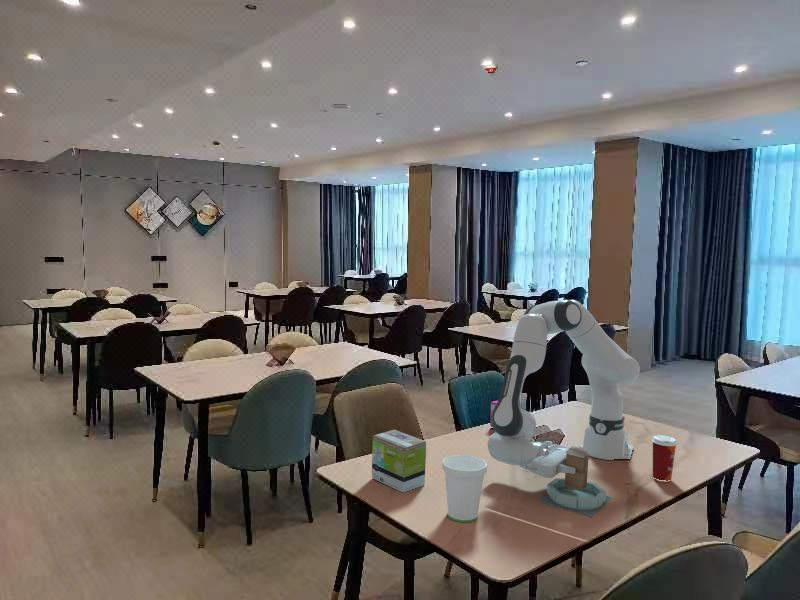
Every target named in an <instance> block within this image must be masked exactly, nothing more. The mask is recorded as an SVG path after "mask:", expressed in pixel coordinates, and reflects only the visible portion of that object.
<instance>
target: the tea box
mask: <svg viewBox="0 0 800 600" xmlns="http://www.w3.org/2000/svg"><path fill="white" fill-rule="evenodd" d="M371 449H372V451H371V453H372V454H371V455H372V456H371V479H372V480H375V481H378V482H380V483H381V484H384V485H386V486H388V487H390V488H392V489H394V490H396V491H398V492H400V493H402V492H403V493H402V494H404V492H405V493H407V491H408V492H410V491H413V490H416V489H418V488H420V487H423V486H425V484H426V461H427V460H426V459H427V441H426V440H423V439H421V438H418V437H417V436H416V437H415V436H412V435H410V434H407V433H405V432H402V431H400V430H398V429H391V430H388V431H385V432H381V433H377V434H373V435H372V448H371ZM415 488H416V489H415ZM412 489H413V490H412ZM409 490H410V491H409Z"/></svg>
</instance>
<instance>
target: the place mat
mask: <svg viewBox="0 0 800 600" xmlns="http://www.w3.org/2000/svg"><path fill="white" fill-rule="evenodd" d="M612 498H613V497H612V496H609V495H606V500H605V501H604V502H603V503H602V506H601V507H600V508H598V509H595V510H574V509H569V508H566V507H563V506H560V505H558V504H556V503H555V502H553V501H552V500H551V499H550V495H549V494H548V493H547V494H546V495H545V496H544V497H542V498H541V499H540V500H539V501H538V503H541V504H545V505H548V506H551V507H555V508H558V509H561V510H564V511H568V512H571V513H575V514H579V515H581V516H584V517H588V518H593V517H594V516H595V515H596V514H597V513H598V512H600V510H601V509H602V508H603V507H604V506H605V505H606V504H607V503H608V502H609V501H610V500H611V499H612Z"/></svg>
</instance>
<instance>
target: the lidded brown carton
mask: <svg viewBox="0 0 800 600" xmlns="http://www.w3.org/2000/svg"><path fill="white" fill-rule="evenodd" d="M568 448H569V449H568V450H566V466H573V467H576V468H577V472H576V473H575V474H571V473H564V478H565V485H564V487H567V488H570V489H574V490H577V491H582V490H583V489H584V488H585V487H587V481H588V475H589V474H588V472H589V458H590V455H589V451H590V450H587V449H582V448H579V446H574V445H572V446H571V447H568Z"/></svg>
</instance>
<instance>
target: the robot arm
mask: <svg viewBox="0 0 800 600" xmlns="http://www.w3.org/2000/svg"><path fill="white" fill-rule="evenodd" d="M562 332H565V333H566V335H567V336H568V337H569V338H570V340H571V341H572V343H573V344H574V346H576V348H577V349H578V350H579V351H580V353H581V354H582V356H581V366H582V367H583V369H584V371H585V372H586V374H587V378H588V382H589V386H590V393H591V407H590V414H589V417H588V418H589V419H588V421H589V422H588V423H589V425H588V426H586V427H585V428H584V433H583V434H584V435H583V443H581V444H580V445H579V446H578V448H582V449H587V450H590V451H589V457H592V458H596V459H600V460H606V461H615V460H614V459H629V458H631V459H632V456H631V454H632V455H633V452H632V450H633V451H634V446H633V445H632V444H629V443H628V442H629V441H628V437H629V435H628V433H627V432H626V429H625V428H624V427H625V426H624V425H625V418H626V417H625V415H624V414H623V410H624V396H623V394H622V393H621V391H620V389H619V386H618V384H619V385H630V384H633V383H635V382H636V381H637V380H638V379H639V376H640V372H641V367H640V364H639V362H638V361H637V360H636V359H635V358H633V357H632V356H630V355H629V354H628V353H627V352H626V351H625V350H624V349H622V348H621V346H620V345H618V344H617V343H616V342H615V341H614V340H613V339H612V338H611V337H610V336H609V335H608V334H607V333H606V331H604V329H603V328H602V326H601V325H600V324H599V322H598V321H597V320H596V319H595V317H594V316H593V315H592V313H591V312H590V311H589V310H588V309H587V308H586V307H585V306H584V304H582V303H581V302H580V301H578V300H577V299H561V300H552V301H547V302H544V303H540V304H534V305H532V306H530V307H528V308H527V309H526V310H525V312H524V314H523V315H521V316H520V318H519V320H518V322H517V325H516V329H515V331H514V336H513V340H512V346H511V353H510V357H509V359H508V363H507V366H506V368H505V373H504V376H503V381H502V383H501V384H502V385H501V389H500V393H499V397H498V402H497V404H496V406H495V408H494V409H493V411H492V414H491V413H490V417H491V424H492V427H493V429H492V430H493V431H494V433H492V434H491V435H490V436H489V437H488V440H487V450H488V453H489V455H490V456H491V458H493V459H494V460H496V461H498V462H500V463H503V464H507V465H510V466H519V467H520V468H522V469H525V470H529V471H531V473H533V474H535V475H538V476H540V477H541V476H542V477H544V478H548V479H551V478H554V477H555V476H556V475H558V474H565V473H571V474H575V473H576V472H577V468H576V467H573V466H566V450H568V449H569V448H570V447H567V446H564V445H560V444H553V442H552V441H549V440H545V441H534V440H532V439H533V436H534V434H535V431H536V427H537V422H536V419H535V417H534V415H533V414H532V413H531V412H530V411H527V410H525V409H523V408H521V406H520V404H521V403H520V401H521V396H522V392H523V387H524V384H525V383H524V382H525V380H526V378H527V376H529V375H530V374H532V373H536V372H537V371H539V369H541V368H542V367H543V364H544V361H545V358H546V353H547V343H548V335H552V334H557V333H562Z"/></svg>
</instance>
